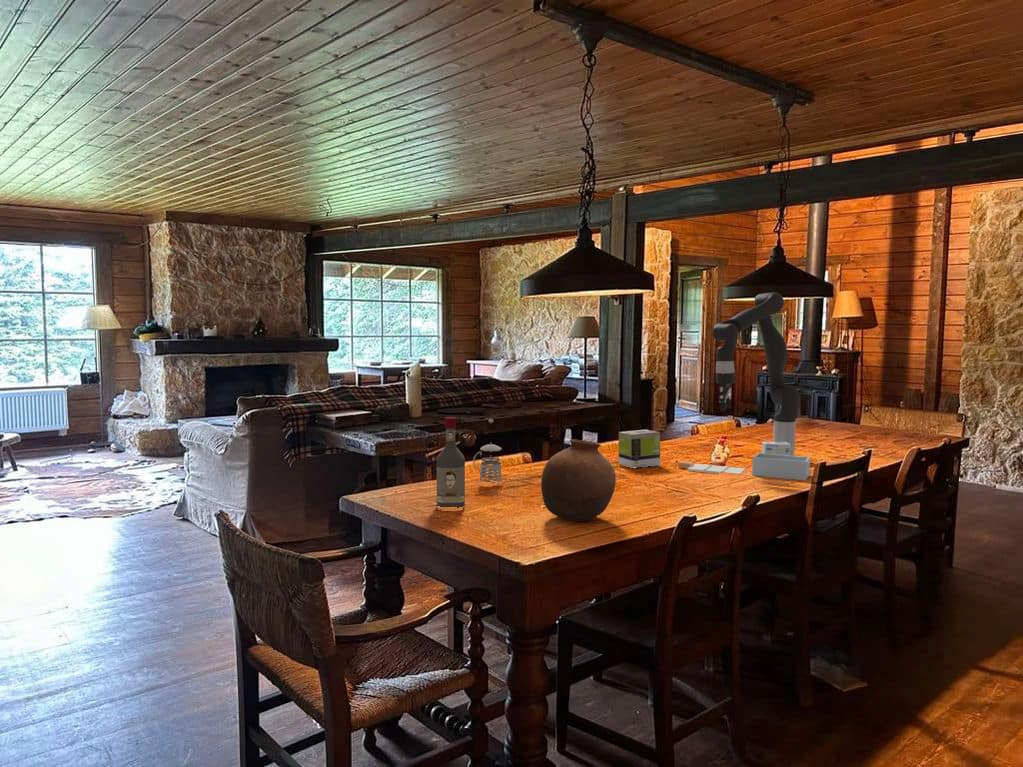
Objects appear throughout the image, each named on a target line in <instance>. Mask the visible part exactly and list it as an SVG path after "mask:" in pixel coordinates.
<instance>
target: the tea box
mask: <svg viewBox="0 0 1023 767" xmlns="http://www.w3.org/2000/svg"><path fill="white" fill-rule="evenodd" d="M619 464H622V465H625V466H628V467H631V468H633V467H642V468H649V467H648V466H651V467H659V466H661V432H660V431H655V430H650V429H638V430H627V431H619V432H618V465H619ZM631 468H630V469H631ZM633 469H634V468H633Z"/></svg>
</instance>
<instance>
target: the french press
mask: <svg viewBox="0 0 1023 767" xmlns="http://www.w3.org/2000/svg"><path fill="white" fill-rule="evenodd" d="M488 423H494V419H493V418H489V419H488ZM479 449H480V451H478V452H477V453H476V454H475V455H474V456H473V459H472V463H473V468H474V469H475V470H476V471H478V472H479V478H480V480H481V481H484V482H491V481H489V480H486V479H485V480H482V478H488V479H490V480H493V481H498V482H500V481H501V482H502V462H500V461H501V458H499V457H495V456H493V457H492V456H489V457H483V458H481V459H480V460H481V461H482V462H481V463H480V468H478V467H477V465H476V457H477V455H478V454H479V455H480V457H481V456H482V455H483V452H500V451H501V450H502V447H501V446H498V445H496V444H493V443H489V444H485V445H482V446H481V447H480V448H479ZM482 451H483V452H482ZM492 478H496V479H492ZM480 480H479V481H480ZM491 483H495V482H491Z"/></svg>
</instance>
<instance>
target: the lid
mask: <svg viewBox="0 0 1023 767" xmlns="http://www.w3.org/2000/svg"><path fill="white" fill-rule="evenodd" d="M677 464H678V465H677V469H679V468H685V469H684V470H687V472H691V471H695V472H694V473H701V472H705V473H704V474H711V473H715V474H714V475H720V473H721V474H723V473H724V474H731V475H741V474H742V473H743V472H744V471H745V470H746V468H743V467H732V466H730V465H728V466H724V465H715V464H714V465H713V463H712V464H704V463H694V462H693V461H687V460H680V461H678V463H677Z"/></svg>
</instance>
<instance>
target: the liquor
mask: <svg viewBox="0 0 1023 767" xmlns="http://www.w3.org/2000/svg"><path fill="white" fill-rule="evenodd" d="M444 428H445V445H444V448H443V449H442V450H441V451H440V452H439V453H438V455H437V458H436V507H437V506H440V507H457V508H459V507H463V506H465V507H466V491H465V490H466V485H465V484H466V483H465V482H466V470H465V469H466V462H465V461H466V460H465V459H466V458H465V456H464V454H463V453H462V452H461V451H460V449H459V448H458V447H457V443H456V428H457V417H455V416H447V417H444Z"/></svg>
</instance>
